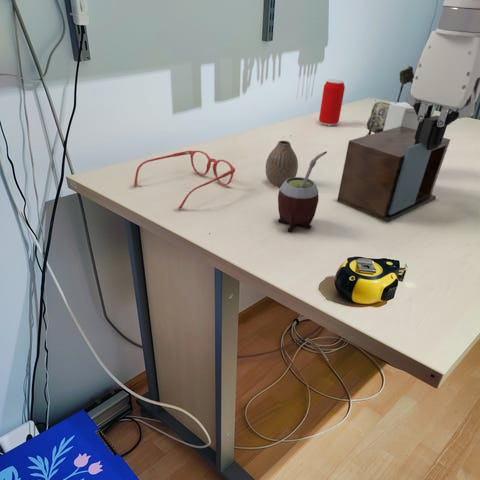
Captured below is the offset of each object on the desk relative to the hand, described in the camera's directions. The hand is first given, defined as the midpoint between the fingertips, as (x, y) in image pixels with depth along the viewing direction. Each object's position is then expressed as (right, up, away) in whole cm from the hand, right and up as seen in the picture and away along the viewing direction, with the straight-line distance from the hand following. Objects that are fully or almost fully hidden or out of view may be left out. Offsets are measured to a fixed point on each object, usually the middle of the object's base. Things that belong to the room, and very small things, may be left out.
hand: (425, 146), depth 76 cm
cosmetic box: (+4, +4, +26) cm, 26 cm away
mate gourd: (-23, -14, +2) cm, 27 cm away
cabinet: (-3, -6, +12) cm, 14 cm away
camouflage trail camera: (+4, +13, +36) cm, 38 cm away
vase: (-25, -1, +17) cm, 30 cm away
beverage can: (-6, +30, +56) cm, 63 cm away
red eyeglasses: (-45, -4, +13) cm, 47 cm away
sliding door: (-2, -10, +6) cm, 12 cm away
